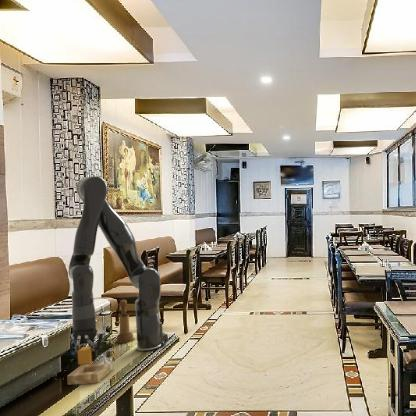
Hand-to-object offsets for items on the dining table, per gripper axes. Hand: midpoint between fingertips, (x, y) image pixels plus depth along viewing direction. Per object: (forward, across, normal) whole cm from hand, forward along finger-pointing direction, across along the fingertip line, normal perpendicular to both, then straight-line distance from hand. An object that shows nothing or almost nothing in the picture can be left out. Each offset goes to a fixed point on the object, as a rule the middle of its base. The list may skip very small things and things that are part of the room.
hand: (87, 360), depth 160 cm
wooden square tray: (+2, -6, +12) cm, 13 cm away
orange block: (0, 0, 0) cm, 0 cm away
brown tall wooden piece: (+2, -3, -28) cm, 28 cm away
